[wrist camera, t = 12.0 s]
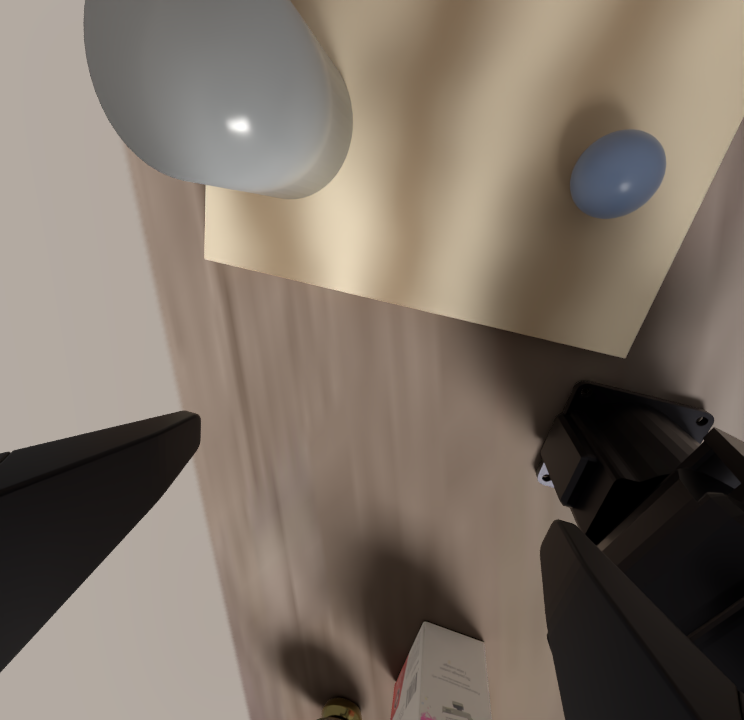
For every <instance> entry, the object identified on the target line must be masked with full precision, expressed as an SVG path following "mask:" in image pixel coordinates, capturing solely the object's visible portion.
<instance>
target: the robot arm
mask: <svg viewBox="0 0 744 720" xmlns="http://www.w3.org/2000/svg"><path fill="white" fill-rule="evenodd" d="M585 388H589V391H588V393H586V394H581V391H582V390H583V389H585ZM700 417H703V419H702V420H701V421H699V422H696V420H697V419H698V418H700ZM713 423H714V417H713V416H712V415H711V414H710V413H708V412H707V411H705V410H703V409H700V408H696V407H692V406H688V405H684V404H680V403H676V402H672V401H668V400H663V399H659V398H655V397H651V396H647V395H643V394H639V393H635V392H631V391H627V390H623V389H619V388H615V387H611V386H607V385H603V384H599V383H594V382H590V381H580V382H578V383H577V384H576V385H575V386H574V388H573V390H572V393H571V395H570V397H569V399H568V402H567V404H566V406H565V408H564V411H563V413H561V414H560V415H558V416H556V418H555V420H554V423H553V425H552V427H551V429H550V432H549V434H548V436H547V439H546V441H545V443H544V445H543V448H542V450H541V456H542V460H541V462H540V464H539V466H538V469H537V471H536V476H537V479H538V481H539V482H540V483H541V484H543V485H546V486H550V487H553V488H555V490H556V493H557V495H558V498H559V500H560V502H561V503H562V505H563V506H566V507H570V509H571V511H572V514H573V516H574V518H575V521H576V523H577V525H578V527H577V526H576V525H574V524H572V523H569V522H566V521H562V520H555V521H553V523H552V524H551V526H550V528H549V530H548V532H547V534H546V536H545V538H544V540H543V542H542V545H541V548H540V561H541V571H542V582H543V593H544V604H545V614H546V622H547V629H548V634H547V640H548V643H549V646H550V649H551V652H552V655H553V660H554V665H555V670H556V675H557V680H558V685H559V690H560V695H561V700H562V705H563V711H564V716H565V720H744V442H743V441H741V440H739V439H737V438H735V437H733V436H731V435H729V434H727V433H725V432H723V431H721V430H719V429H717V428H715V427H714V428H713V429H712V430H710V428H711V427H712V425H713ZM709 430H710V431H709ZM708 431H709V432H708ZM200 438H201V418H200V416H199V415H198V414H196V413H192V412H189V411H179V412H175V413H171V414H167V415H162V416H158V417H154V418H149V419H146V420H141V421H137V422H133V423H129V424H124V425H120V426H116V427H111V428H107V429H103V430H98V431H94V432H90V433H86V434H81V435H77V436H73V437H69V438H65V439H61V440H56V441H52V442H47V443H43V444H39V445H35V446H30V447H27V448H22V449H18V450H14V451H12V452H11V453H10V452H4V453H0V672H1V671H2V670H3V669H4V668H5V667H6V666H7V664H9V663H10V662H11V660H12V659H13V658H14V657H15V656H16V655H17V654H18V653H19V652H20V651H21V650H22V648H23V647H24V646H25V645H26V644H27V643H28V642H29V641H30V640H31V639H32V637H33V636H34V635H35V634H36V633H37V632H38V631H39V630H40V629H41V628H42V627H43V625H45V623H46V622H47V621H48V620H49V619H50V618H51V617H52V616H53V615H54V613H56V611H57V610H58V609H59V608H60V607H61V606H62V605H63V604H64V603H65V602H66V600H68V598H69V597H70V596H71V595H72V594H73V593H74V592H75V591H76V590H77V588H79V586H80V585H81V584H82V583H83V582H84V581H85V580H86V579H87V578H88V577H89V576H90V575H91V573H92V572H93V571H94V570H95V569H96V568H97V567H98V566H99V565H100V564H101V563H102V561H103V560H104V559H105V558H106V557H107V556H108V555H109V554H110V553H111V552H112V551H113V549H114V548H115V547H116V546H117V545H118V544H119V543H120V542H121V541H122V540H123V539H124V538H125V536H126V535H127V534H128V533H129V532H130V531H131V530H132V529H133V528H134V527H135V526H136V524H137V523H138V522H139V521H140V520H141V519H142V518H143V517H144V516H145V515H146V514H147V513H148V511H149V510H150V509H151V508H152V507H153V506H154V505H155V504H156V503H157V501H158V500H159V499H160V498H161V497H162V495H163V494H164V493H165V492H166V491H167V489H168V488H169V487H170V485H171V484H172V483H173V481H174V480H175V479H176V477H177V476H178V475H179V473H180V472H181V471H182V469H183V468H184V466H185V465H186V464H187V463H188V461H189V460H190V459H191V457H192V456H193V455H194V454H195V452H196V451H197V449H198V447H199V445H200ZM703 439H704V442H703V443H702V444H701V442H702V441H703ZM700 444H701V445H700ZM545 474H549V476H548V477H542V476H543V475H545Z"/></svg>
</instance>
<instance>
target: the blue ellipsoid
mask: <svg viewBox="0 0 744 720" xmlns="http://www.w3.org/2000/svg"><path fill="white" fill-rule="evenodd" d="M665 171H666V155H665V151H664V149H663V147H662V145H661V143H660V142H659V141H658V140H657V139H656V138H655V137H654V136H652V135H651V134H649V133H647V132H644V131H641V130H635V129H626V130H619V131H615V132H612V133H610V134H607V135H605V136H603V137H601V138H600V139H598V140H597V141H595V142H594V143H593V144H591V145H590V146H589V147H588V148H587V149H586V150H585V151H584V152H583V153H582V155H581V156H580V157H579V159H578V161H577V162H576V164H575V166H574V169H573V171H572V174H571V179H570V192H571V196H572V199H573V201H574V203H575V204H576V206H577V207H578V208H579V209H580V210H581V211H582V212H584V213H585V214H587V215H589V216H591V217H595V218H601V219H612V218H617V217H621V216H625V215H627V214H629V213H631V212H633V211H635V210H637V209H638V208H640V207H641V206H643V205H644V204H645V203H646V202H647V201H648V200H649V199H650V198H651V197H652V196H653V195H654V194H655V193H656V191H657V190H658V188H659V187H660V185H661V183H662V181H663V178H664V175H665Z"/></svg>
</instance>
